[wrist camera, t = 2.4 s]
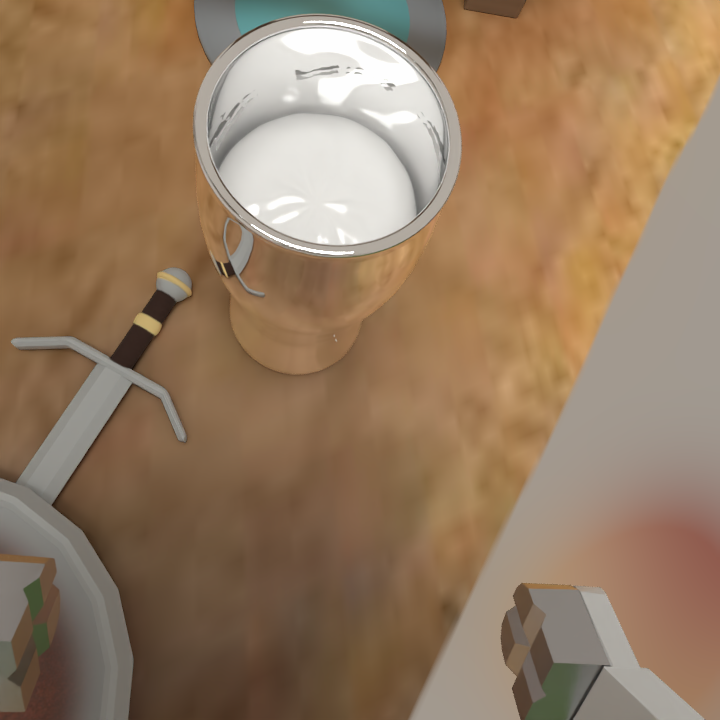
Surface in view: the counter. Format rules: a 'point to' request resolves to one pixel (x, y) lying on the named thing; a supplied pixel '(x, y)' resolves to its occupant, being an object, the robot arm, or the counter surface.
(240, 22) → the shelf bridge
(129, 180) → the counter surface
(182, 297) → the frying pan
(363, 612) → the counter surface
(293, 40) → the beer glass
